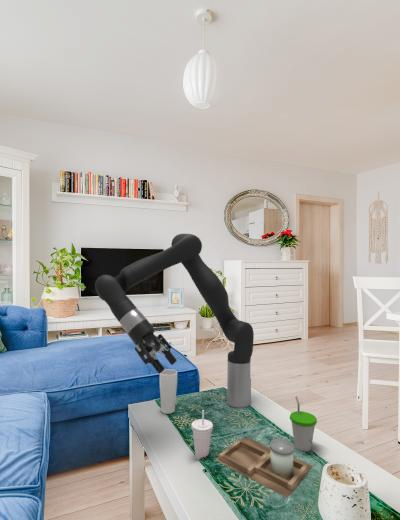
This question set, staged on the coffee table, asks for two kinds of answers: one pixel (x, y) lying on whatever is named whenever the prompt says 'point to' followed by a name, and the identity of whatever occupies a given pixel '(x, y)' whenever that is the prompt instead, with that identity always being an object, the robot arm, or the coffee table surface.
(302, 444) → the cup
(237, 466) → the walnut tray
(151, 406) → the coffee table surface
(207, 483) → the coffee table surface
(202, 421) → the smoothie
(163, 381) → the drinking glass
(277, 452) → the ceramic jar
